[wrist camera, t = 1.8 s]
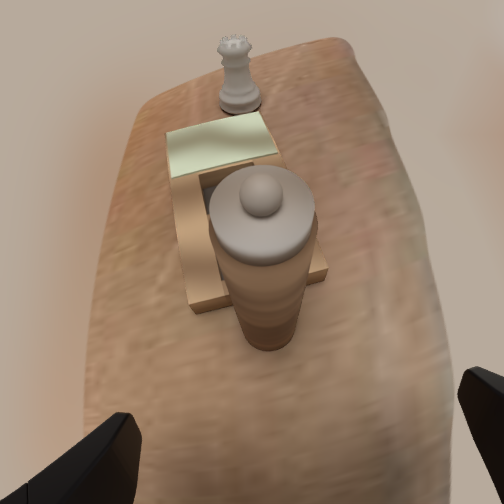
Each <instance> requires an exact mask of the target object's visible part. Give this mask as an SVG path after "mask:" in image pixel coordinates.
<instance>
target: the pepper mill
mask: <svg viewBox="0 0 504 504" xmlns="http://www.w3.org/2000/svg"><path fill="white" fill-rule="evenodd" d="M314 209H315V204H314V198H313V195H312V192H311V190H310V188H309V187H308V185H307V184H306V183H305V182H304V181H303V180H302V179H301V178H300V177H299V176H298V175H296V174H294V173H293V172H291V171H289V170H287V169H284V168H281V167H277V166H271V165H255V166H249V167H246V168H242V169H240V170H237V171H235V172H233V173H231V174H230V175H228V176H227V177H226V178H224V179H223V180H222V181H221V182H220V183H219V184H218V186H217V187H216V189H215V190H214V192H213V194H212V197H211V199H210V205H209V212H210V219H209V237H210V240H211V243H212V246H213V249H214V252H215V255H216V258H217V260H218V263H219V266H220V269H221V272H222V275H223V278H224V280H225V283H226V286H227V289H228V292H229V295H230V297H231V300H232V303H233V306H234V308H235V311H236V314H237V317H238V319H239V322H240V325H241V328H242V330H243V333H244V336H245V338H246V339H247V341H248V342H249V343H250V344H251V345H252V346H254V347H255V348H257V349H259V350H263V351H274V350H278V349H280V348H282V347H284V346H285V345H286V344H288V342H289V341H290V340H291V338H292V337H293V334H294V331H295V327H296V323H297V319H298V315H299V311H300V307H301V303H302V299H303V295H304V290H305V286H306V282H307V278H308V273H309V269H310V264H311V260H312V255H313V251H314V246H315V241H316V237H317V231H318V221H317V216H316V213H315V210H314Z"/></svg>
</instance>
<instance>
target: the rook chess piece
mask: <svg viewBox="0 0 504 504" xmlns="http://www.w3.org/2000/svg"><path fill="white" fill-rule="evenodd" d="M251 48H252V45H250V44H249V43H248V42H247V38H245V36H243V35H240V36H239V39H236V35H231V39H230V40H228V37H226V36H225V37H223V38H222V40H220V46H219V47H218V48H217V52H218V53H219V54H221V55H222V56H223V60H222V62H221V64H222V65H223V66H224V71H225V77H224V84H223V85H222V89H221V91H220V93H219V99H220V107H221V108H222V109H223V110H224V111H226V112H228V113H230V114H234V115H243V114H248V113H251V112H253V111H254V110H255V109H257V108H258V106H259V105H260V103H261V97H260V90H259V88H258V87H257V86H256V85H255V82H254V81H253V80H252V78H251V74H250V70H249V62H250V58H249V57H248V52H249V51H250V50H251Z"/></svg>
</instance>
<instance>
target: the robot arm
mask: <svg viewBox="0 0 504 504" xmlns="http://www.w3.org/2000/svg"><path fill="white" fill-rule="evenodd" d="M457 395H458V400H459V403H460V405H461V408H462V410H463V413H464V416H465V418H466V421H467V424H468V426H469V429H470V432H471V434H472V437H473V440H474V442H475V444H476V446H477V448H478V450H479V452H480V454H481V457H482V459H483V461H484V463H485V465H486V467H487V469H488V472H489V474H490V476H491V479H492V481H493V483H494V485H495V488H496V490H497V493H498V495H499V498H500V500H501V503H502V504H504V377H503V376H500V375H498V374H495V373H493V372H490V371H488V370H486V369H483V368H481V367H478V366H476V367H472V368H470V369H467V370H466V371H465V372H464V374H463V376H462V380H461V383H460V386H459V389H458V393H457ZM141 444H142V436H141V432H140V430H139V428H138V426H137V424H136V422H135V419H134V417H133V415H132V414H130V413H124V412H116V413H115V414H113V415H112V416H111V417H110V418H108V419H107V420H106V421H105V422H103V423H102V424H101V425H100V426H98V427H97V428H96V429H95V430H93V431H92V432H91V433H90V434H88V435H87V436H86V437H85V438H83V439H82V440H81V441H80V442H78V443H77V444H76V445H75V446H73V447H72V448H71V449H69V450H68V451H67V452H66V453H64V454H63V455H62V456H61V457H59V458H58V459H57V460H55V461H54V462H53V463H51V464H50V465H49V466H47V467H46V468H45V469H44V470H42V471H41V472H40V473H38V474H37V475H36V476H34V477H33V478H32V479H30V480H29V481H28V483H25V484H23V485H22V486H21V487H20V488H18V489H17V490H15V491H14V492H12V493H11V494H10V495H8V496H7V497H5V498H4V499H2V500H0V504H133V502H134V498H135V493H136V488H137V481H138V471H139V461H140V453H141Z"/></svg>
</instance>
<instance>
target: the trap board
mask: <svg viewBox="0 0 504 504" xmlns="http://www.w3.org/2000/svg"><path fill="white" fill-rule="evenodd" d="M165 144H166V153H167V162H168V171H169V180H170V188H171V196H172V203H173V211H174V218H175V225H176V232H177V239H178V245H179V252H180V258H181V264H182V270H183V276H184V282H185V287H186V293H187V298H188V304H189V306H190V307H191V308H192V310H193V311H194V312H195V314H199V313H203V312H207V311H211V310H215V309H219V308H223V307H227V306H231V305H233V303H232V300H231V297H230V295H229V292H228V289H227V286H226V283H225V280H224V278H223V275H222V272H221V269H220V266H219V263H218V260H217V258H216V255H215V252H214V249H213V246H212V243H211V240H210V237H209V219H210V212H209V205H210V199H211V197H212V194H213V192H214V190H215V189H216V187H217V186H218V184H219V183H220V182H221V181H222V180H223V179H224V178H226V177H227V176H228V175H230V174H231V173H233V172H235V171H237V170H240V169H242V168H246V167H249V166H255V165H271V166H277V167H281V168H284V169H287V167H286V165H285V163H284V161H283V159H282V156H281V154H280V152H279V150H278V148H277V145H276V143H275V141H274V139H273V137H272V135H271V133H270V131H269V128H268V126H267V124H266V122H265V120H264V118H263V116H262V114H261V112H260V111H258V112H253V113H248V114H243V115H238V116H233V117H228V118H224V119H219V120H215V121H211V122H207V123H202V124H198V125H194V126H190V127H187V128H183V129H179V130H175V131H172V132H168V133H165ZM327 271H328V265H327V262H326V260H325V257H324V255H323V252H322V250H321V247H320V245H319V242H318V240H317V238H316V241H315V246H314V251H313V255H312V260H311V264H310V269H309V273H308V278H307V282H306V285H310V284H313V283H317V282H320V281H324V280H325V277H326V274H327Z"/></svg>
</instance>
